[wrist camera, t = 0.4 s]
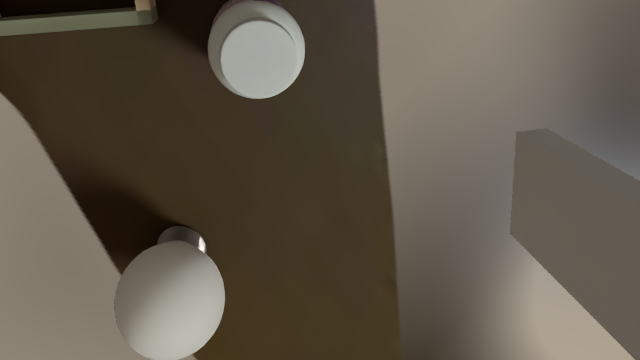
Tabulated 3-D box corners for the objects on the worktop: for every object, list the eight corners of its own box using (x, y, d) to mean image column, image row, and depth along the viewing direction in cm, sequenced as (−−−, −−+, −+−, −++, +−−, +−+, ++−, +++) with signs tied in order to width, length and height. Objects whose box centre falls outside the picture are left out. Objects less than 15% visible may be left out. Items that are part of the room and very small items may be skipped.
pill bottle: (236, -25, 36) (239, -18, 27) (307, 20, 38) (332, 40, 29) (196, 49, 38) (186, 79, 29) (266, 89, 39) (278, 129, 30)
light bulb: (226, 286, 44) (226, 384, 34) (136, 291, 43) (108, 393, 33) (223, 205, 42) (222, 286, 32) (127, 209, 41) (94, 293, 31)
